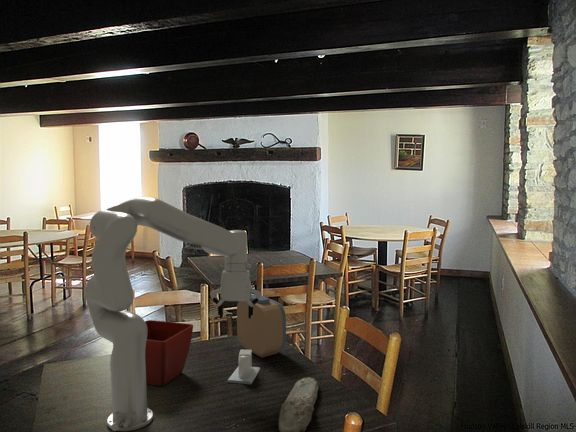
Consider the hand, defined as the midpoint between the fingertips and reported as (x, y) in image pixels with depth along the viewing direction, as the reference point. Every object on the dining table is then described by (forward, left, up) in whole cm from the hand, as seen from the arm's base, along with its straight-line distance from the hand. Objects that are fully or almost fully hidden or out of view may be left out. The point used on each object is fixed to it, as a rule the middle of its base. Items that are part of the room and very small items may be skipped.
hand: (235, 317), depth 173 cm
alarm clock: (+25, -7, -22) cm, 34 cm away
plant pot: (+1, +27, -22) cm, 35 cm away
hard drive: (+2, -2, -22) cm, 23 cm away
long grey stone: (-22, -21, -22) cm, 38 cm away
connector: (+3, -3, -21) cm, 21 cm away
